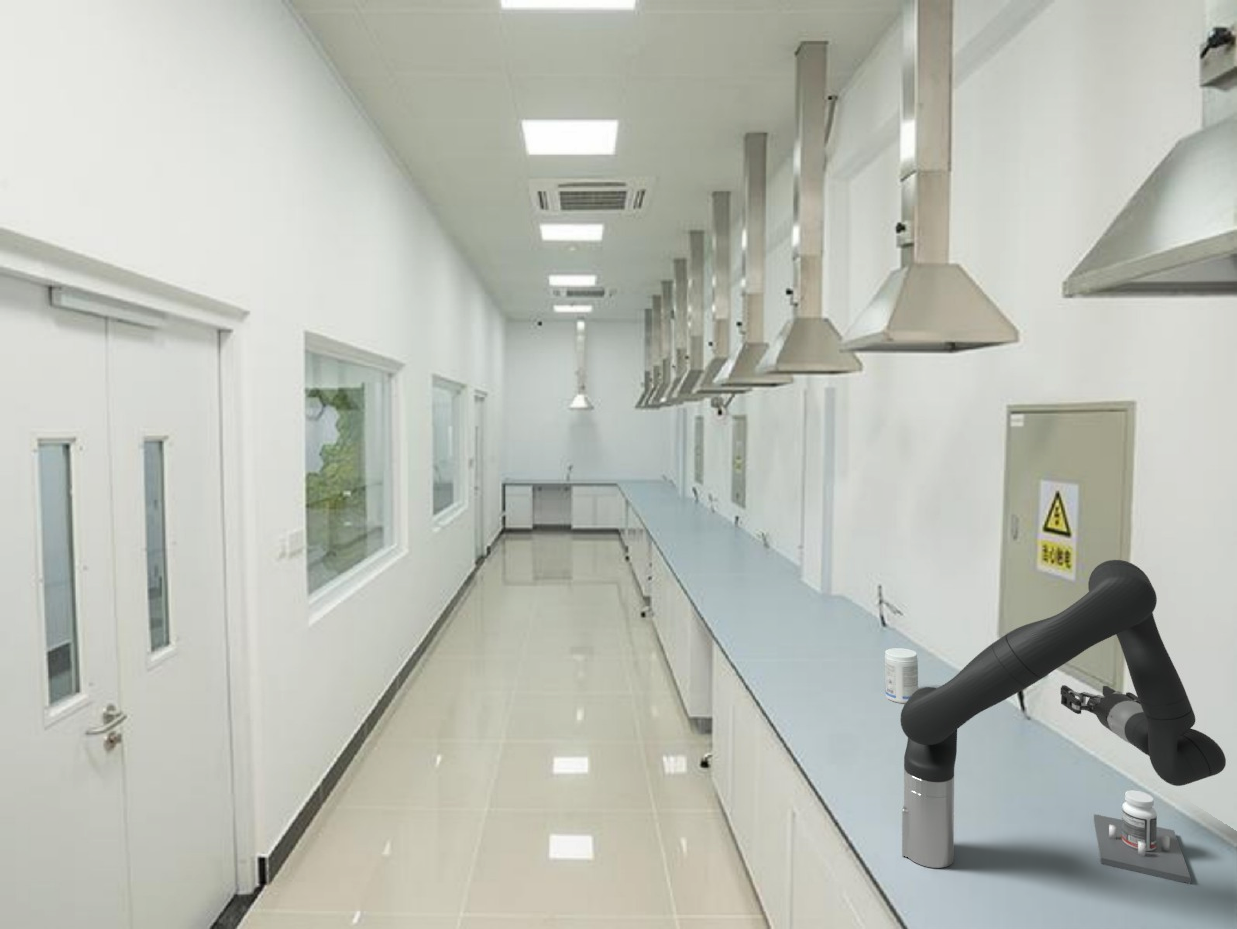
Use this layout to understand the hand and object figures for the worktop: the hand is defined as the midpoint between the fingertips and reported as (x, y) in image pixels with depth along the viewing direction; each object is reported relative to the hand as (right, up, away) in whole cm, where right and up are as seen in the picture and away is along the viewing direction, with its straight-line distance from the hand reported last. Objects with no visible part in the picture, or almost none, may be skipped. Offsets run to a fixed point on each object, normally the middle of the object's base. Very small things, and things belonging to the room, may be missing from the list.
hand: (1083, 689), depth 161 cm
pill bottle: (+4, -28, -12) cm, 30 cm away
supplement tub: (-13, -24, +70) cm, 76 cm away
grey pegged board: (+4, -29, -12) cm, 31 cm away
